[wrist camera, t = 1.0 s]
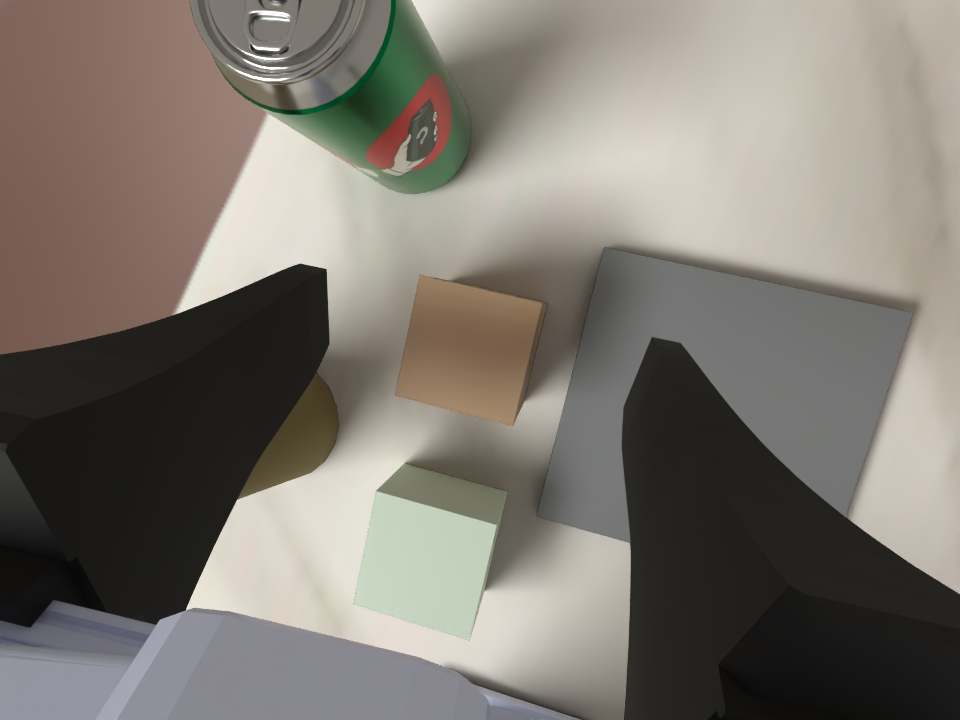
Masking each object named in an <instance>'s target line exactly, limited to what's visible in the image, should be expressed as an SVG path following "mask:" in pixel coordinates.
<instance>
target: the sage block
mask: <svg viewBox="0 0 960 720" xmlns="http://www.w3.org/2000/svg"><path fill="white" fill-rule="evenodd" d="M507 493H508V492H507V491H503V490H500V489H496V488H492V487H489V486H485V485H481V484H478V483H474V482H470V481H467V480H463V479H459V478H456V477H452V476H448V475H445V474H441V473H437V472H433V471H430V470H426V469H422V468H419V467H415V466H411V465H408V464H403V465H402V466H401V467H400V468H399V469H398V470H397V471H396V472H395V473H394V474H393V475H392V476H391V477H390V478H389V479H388V480H387V481H386V482H385V483H384V484H383V485H382V486H381V487H380V488H379V489H378V490H377V491H376V493H375V498H374V503H373V508H372V513H371V518H370V523H369V528H368V533H367V538H366V543H365V548H364V552H363V557H362V562H361V567H360V572H359V577H358V582H357V587H356V592H355V597H354V602H353V605H356V606H360V607H363V608H366V609H369V610H372V611H376V612H379V613H382V614H385V615H388V616H392V617H395V618H398V619H401V620H404V621H408V622H411V623H414V624H417V625H420V626H424V627H427V628H430V629H433V630H436V631H440V632H443V633H446V634H449V635H452V636H456V637H459V638H462V639H465V640H468V641H470V637H471V634H472V631H473V627H474V624H475V620H476V617H477V614H478V610H479V607H480V604H481V600H482V597H483V594H484V590H485V586H486V581H487V577H488V573H489V569H490V565H491V560H492V556H493V552H494V548H495V544H496V539H497V535H498V531H499V527H500V522H501V518H502V514H503V510H504V506H505V501H506V497H507Z"/></svg>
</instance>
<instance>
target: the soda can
mask: <svg viewBox="0 0 960 720" xmlns="http://www.w3.org/2000/svg"><path fill="white" fill-rule="evenodd" d="M190 8H191V11H192V15H193V19H194V22H195V25H196V27H197V29H198V32H199V34H200V36H201V38H202V39H203V41H204V43H205V44H206V46H207V47H208V49H209V50H210V52H211V54H212V56H213V59H214V61H215V63H216V65H217V67H218V68H219V70H220V71H221V73H222V75H223V76H224V78H225V79H226V80H227V81H228V82H229V84H230V85H231V86H232V87H233V88H234V89H235V90H236V91H237V92H238V93H239V94H241V95H242V96H243V97H244V98H245V99H246V100H248V101H250V102H251V103H253V104H255V105H256V106H257V107H259V108H261V109H262V110H264V111H265V112H267V113H269V114H270V115H272V116H273V117H275V118H277V119H278V120H280V121H281V122H283V123H285V124H286V125H288V126H289V127H291V128H293V129H294V130H296V131H297V132H299V133H300V134H302V135H304V136H305V137H307V138H308V139H310V140H312V141H313V142H315V143H316V144H318V145H320V146H321V147H323V148H324V149H326V150H328V151H329V152H331V153H332V154H334V155H335V156H337V157H339V158H340V159H342V160H343V161H345V162H347V163H348V164H350V165H351V166H353V167H355V168H356V169H358V170H359V171H361V172H363V173H364V174H366V175H367V176H369V177H370V178H372V179H374V180H375V181H377V182H378V183H380V184H382V185H383V186H385V187H387V188H389V189H391V190H393V191H396V192H400V193H405V194H419V193H425V192H428V191H431V190H434V189H436V188H438V187H440V186H441V185H443V184H444V183H446V182H447V181H448V180H449V179H450V178H451V177H453V176H454V175H455V173H456V172H457V171H458V169H459V168H460V167H461V165H462V163H463V161H464V160H465V158H466V155H467V152H468V149H469V145H470V140H471V121H470V116H469V112H468V109H467V107H466V104H465V102H464V100H463V98H462V96H461V94H460V92H459V90H458V88H457V86H456V85H455V83H454V81H453V79H452V77H451V75H450V73H449V71H448V69H447V67H446V65H445V63H444V62H443V60H442V58H441V56H440V54H439V52H438V50H437V48H436V46H435V44H434V42H433V41H432V39H431V37H430V35H429V33H428V31H427V29H426V27H425V25H424V23H423V21H422V19H421V18H420V16H419V14H418V12H417V10H416V8H415V6H414V4H413V2H412V0H190Z"/></svg>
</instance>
